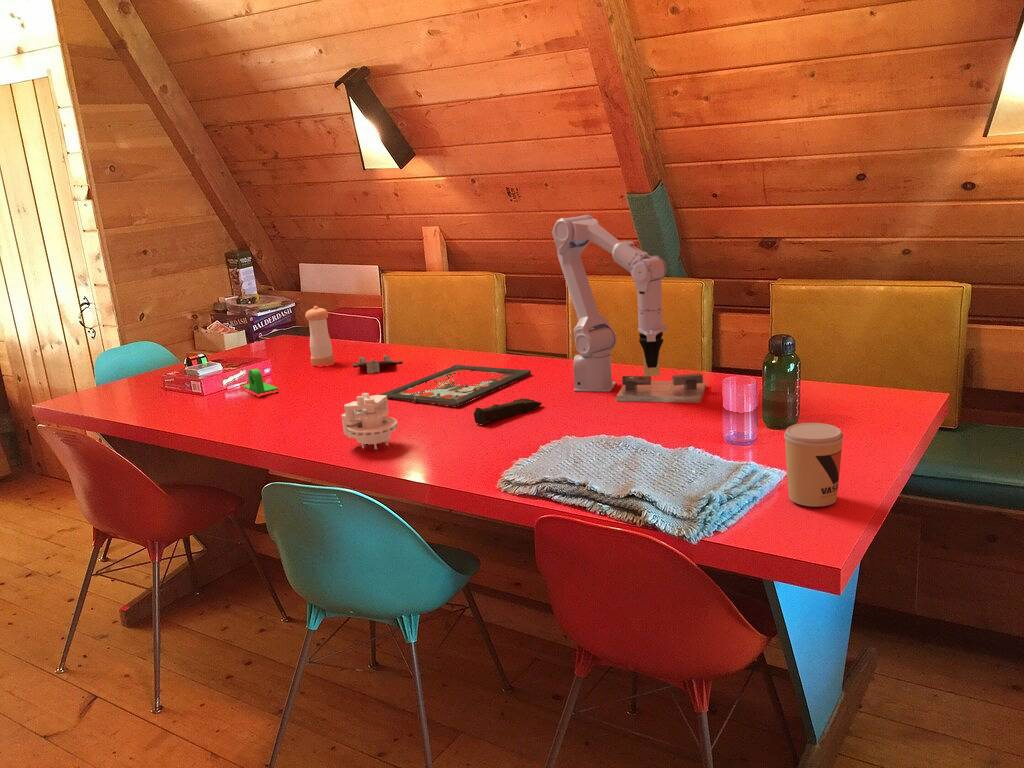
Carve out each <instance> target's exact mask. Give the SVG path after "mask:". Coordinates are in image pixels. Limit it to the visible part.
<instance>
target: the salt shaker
mask: <svg viewBox="0 0 1024 768" xmlns="http://www.w3.org/2000/svg"><path fill="white" fill-rule="evenodd" d="M304 316H305V319H306V320H307V321H308V325H309V334H310V335H309V347H310V348H309V349H310V355H311V356H310V363H311V364H312V365H329V364H332V363H334V362H335V363H336V361H335V360H336V359H335V354H334V353H333V346H332V341H331V336H330V334H329V330H328V329H329V327H328V321H327V319H328V317H329V312H328V310H327V309H326V308H322V307H319V306H318V305H314V306H313V308H311V309H308V310H306V312H305V315H304ZM312 365H311V366H312Z"/></svg>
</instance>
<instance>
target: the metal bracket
mask: <svg viewBox="0 0 1024 768" xmlns="http://www.w3.org/2000/svg"><path fill="white" fill-rule="evenodd" d="M358 360H359V362H354V363H353V364H352V367H360V366H359V365H362V366H366V374H367V373H373V374H376V373H375V372H381V371H380V370H381V369H380V365H384V364H385V365H387V364H396V363H397V364H398V363H403V360H395V361H394V360H392V359H390V356H389V355H387V354H384V355H383V360H378V361H377V360H375V359H374V358H371V361H367V359H366V357H362V356H361V357H360V356H359V359H358ZM386 363H387V364H386Z"/></svg>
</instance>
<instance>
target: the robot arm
mask: <svg viewBox="0 0 1024 768" xmlns="http://www.w3.org/2000/svg"><path fill="white" fill-rule="evenodd" d="M551 234H552V238H553V240H554V243H555V246H556V252H557V258H558V261H559V265H560V268H561V270H562V273H563V277H564V280H565V282H566V286H567V289H568V292H569V296H570V297H571V301H572V304H573V307H574V311H575V313H576V317H577V320H578V321H577V324H576V325H575V327H574V328H573V330H572V332H573V335H574V346H575V349H576V351H577V352H578V353H579V354H575V355H574V358H573V367H572V368H573V380H574V381H573V384H574V390H573V391H574V392H602V393H603V392H605V393H607V392H608V393H609V392H611V391H612V390H613V389H614V387H615V386H616V384H617V382H616V381H613V377H612V357H611V353H613V349H614V347H616V344H617V334H616V332H615V330H614V329H613V327H612V326H611V324H610V322H609V319H607V318H606V317H604V316H603V315H601V314H600V312H599V310H598V307H597V303H596V301H595V300H596V299H595V297H594V295H593V294H594V293H593V291H592V287H591V284H590V282H589V279H588V275H587V272H586V270H585V266H584V263H583V260H582V258H581V255H582V253H583V251H584V250H585V248H586V247H587V246H588V244H589V243H591V242H592V243H593V244H595V245H596V246H598V247H600V248H602V249H603V250H605V251H606V252H608V253H609V254H611V256H612V260H613V262H615V263H616V264H617V265H619V266H620V267H622V268H623V269H625V270H626V271H627V272H629V273H630V274H631V275H630V276H631V278H632V279H633V281H634V284H635V285H634V286H635V290H636V293H637V294H636V295H637V296H636V297H637V319H638V322H637V323H638V327H637V332H639V333H638V336H639V337H640V338H638V341H639V344H640V346H641V347H642V348H641V349H642V351H644V354H645V359H646V363H647V367H648V368H656V367H657V363H658V356H659V357H660V351H661V350H660V349H661V348H662V345H663V342H664V338H662V337H663V335H664V333H663V331H668V330H669V326H668V325H664V321H663V320H664V319H663V318H664V317H663V291H662V290H663V289H662V287H663V285H662V284H663V283H662V280H663V279H664V278H665V277H666V274H667V264H666V262H665V261H664V259H662V258H661V256H659V255H649V253H648V252H646V251H643V250H642V249H640V248H638V247H637V246H635V242H633V241H632V240H630V241H629V240H624V241H620V240H619V239H617V238H616V237H615V236H614V235H612V233H610V232H609V231H607V229H605V228H604V227H602V226H601V225H600V224H599V220H598V219H595V218H594V217H593V216H591V215H590V214H583V215H579V216H572V217H567V218H566V217H561V218H558V219H557V220H556V222H555V224H554V226H553V228H552V232H551ZM644 354H643V355H644Z"/></svg>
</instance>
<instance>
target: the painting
mask: <svg viewBox="0 0 1024 768" xmlns="http://www.w3.org/2000/svg"><path fill="white" fill-rule="evenodd" d="M462 370H463V371H464V370H469V371H470V370H471V372H472V371H479V372H480V371H481V372H488V373H489V372H490V373H497V374H498V373H499V374H502V376H500V377H499V378H500V379H499V378H498V377H497V378H498V379H497V378H496V377H495V378H496V379H497V380H496V379H495V378H494V379H489V380H490V381H489V380H488V381H489V382H488V381H487V382H486V381H485V382H484V381H482V382H481V383H480V382H479V383H480V384H479V385H478V384H477V385H476V384H475V385H476V387H475V386H471V385H470V386H469V385H468V384H467V383H466V384H467V385H468V386H467V385H466V384H465V385H466V386H465V387H464V386H463V385H462V386H463V388H462V386H461V385H460V384H459V385H460V387H461V388H460V387H459V385H458V384H457V383H456V382H455V381H454V380H453V379H452V380H453V382H452V384H453V383H454V382H455V383H456V384H457V385H458V387H457V386H455V385H456V384H455V383H454V384H455V385H454V384H453V385H454V386H453V385H452V384H451V383H450V382H449V380H450V379H449V378H450V377H448V375H450V376H451V375H452V374H451V373H452V372H453V374H456V372H455V371H460V372H461V371H462ZM454 372H455V373H454ZM531 372H532V371H531V369H518V368H516V369H515V368H507V367H506V368H505V367H502V368H501V367H491V366H479V365H477V366H476V365H464V364H454V365H452V366H450V367H448V368H446V369H443V370H440V371H438V372H435V373H433V374H430V375H427V376H424V377H422V378H420V379H417V380H414V381H411V382H409V383H406V384H404V385H401V386H398V387H396V388H394V389H391V390H388V391H385V392H382V393H379V394H378V395H387V399H389V398H393V399H392V400H396V399H399V400H398V401H402V400H409V401H408V402H410V401H414V402H422V403H421V404H426V403H434V404H433V405H435V404H440V405H448V406H447V407H449V406H458V405H461V404H464V403H466V402H468V401H470V400H472V399H474V398H477V397H479V396H482V395H484V394H486V395H488V394H487V393H489V392H491V393H493V392H492V391H494V390H496V391H498V390H500V389H499V388H500V387H503V386H505V385H507V386H509V385H508V384H510V383H512V382H515V381H517V380H519V379H521V380H523V379H525V378H528V377H530V376H531V374H532V373H531ZM447 374H448V375H447ZM458 374H459V373H458ZM484 374H485V373H484ZM503 374H504V375H503ZM442 376H443V377H442ZM444 376H445V377H446V376H447V377H448V379H449V380H448V379H445V378H444ZM492 376H493V375H492ZM527 376H528V377H527ZM452 377H453V376H452ZM524 377H525V378H524ZM437 378H440V379H441V378H442V379H443V378H444V379H445V381H446V380H447V381H448V382H447V381H446V382H447V383H446V382H445V383H444V382H443V380H444V379H443V380H442V379H441V381H442V382H443V383H444V384H445V385H444V384H443V383H442V382H441V381H440V380H439V379H438V380H439V381H440V382H441V383H442V384H441V383H440V382H439V381H438V380H437V381H438V383H439V385H440V384H441V385H442V386H441V385H440V386H438V385H437V386H438V388H436V387H435V388H434V389H433V390H432V389H431V391H430V388H429V390H428V391H427V390H425V393H424V391H422V393H421V392H419V391H418V393H416V392H415V394H413V393H414V392H413V393H412V394H411V393H410V394H409V392H408V393H407V390H409V389H412V387H416V385H417V386H418V385H420V384H422V383H424V382H425V383H427V381H430V380H434V379H437ZM522 378H523V379H522ZM456 381H457V380H456ZM519 381H520V380H519ZM434 382H436V381H434ZM517 382H518V381H517ZM436 383H437V382H436ZM449 383H450V384H451V385H452V386H451V385H450V384H449ZM515 383H516V382H515ZM512 384H513V383H512ZM473 385H474V384H473ZM510 385H511V384H510ZM430 386H431V385H430ZM505 387H506V386H505ZM503 388H504V387H503ZM497 389H498V390H497ZM405 391H406V393H405ZM409 391H410V390H409ZM413 391H414V390H413ZM494 392H495V391H494ZM489 394H490V393H489ZM484 396H485V395H484ZM482 397H483V396H482ZM468 403H469V402H468ZM466 404H467V403H466ZM440 405H439V406H440ZM464 405H465V404H464Z"/></svg>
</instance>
